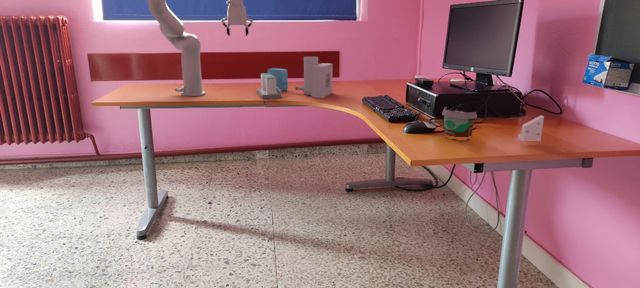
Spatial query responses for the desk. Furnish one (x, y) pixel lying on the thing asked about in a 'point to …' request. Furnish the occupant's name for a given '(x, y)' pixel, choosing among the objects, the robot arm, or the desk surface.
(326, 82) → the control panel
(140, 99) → the desk surface
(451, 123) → the food container
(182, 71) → the robot arm
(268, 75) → the block
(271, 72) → the data package
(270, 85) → the rail
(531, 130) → the white angled block
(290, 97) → the desk surface
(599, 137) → the desk surface
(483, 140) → the desk surface
